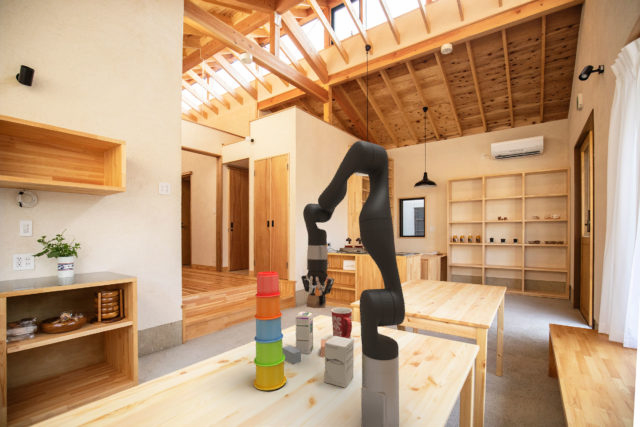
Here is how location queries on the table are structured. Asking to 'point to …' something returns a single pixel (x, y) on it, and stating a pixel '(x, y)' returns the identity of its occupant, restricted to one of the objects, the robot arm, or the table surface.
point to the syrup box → (304, 332)
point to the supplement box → (339, 361)
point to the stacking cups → (268, 334)
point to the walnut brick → (314, 301)
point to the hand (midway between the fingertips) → (317, 304)
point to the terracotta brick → (323, 348)
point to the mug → (342, 322)
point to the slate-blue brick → (292, 354)
